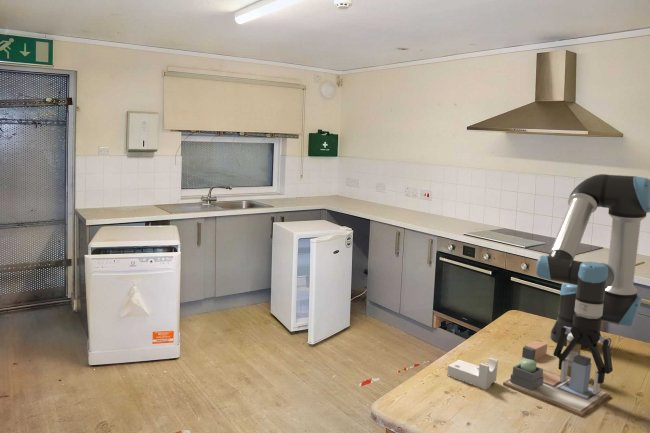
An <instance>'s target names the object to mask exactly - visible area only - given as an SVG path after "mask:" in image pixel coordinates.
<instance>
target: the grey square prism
mask: <svg viewBox="0 0 650 433" xmlns="http://www.w3.org/2000/svg"><path fill="white" fill-rule="evenodd" d="M591 371H592V358H591V357H589V356H586V355H582V354H581V353H580V354H579V355H577V356H575V357H574V360H573V362H572V369H571V376H569V377H570V378H569V379H570V385H569V389H572V390H574V391H577V392H580V393H582V394H583V393H584V392H586V391H587V390H588V388H589V386H590V381H591V379H590V378H591Z"/></svg>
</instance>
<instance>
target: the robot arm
mask: <svg viewBox="0 0 650 433" xmlns="http://www.w3.org/2000/svg"><path fill="white" fill-rule="evenodd" d="M567 205H568V207H567V210H566V213H565V214H564V217H563V220H562V222H561V224H560V227H559V228H558V232H557V234H556V237H555V239H554V242H553V243H552V246H551V248H550V251H549V254H547V255H543V254H542V255H540V256H539V257H538V259H537V261H536V266H535V269H536V270H535V272H536V275H537V278H541V279H544V280H546V281H547V280H548V281H550V282H552V281H553V282H559V283H562V284H561V287H560V292H559V301H558V310H557V319H556V320H555V323H554V325H553V326H552V329H551V331H550V339H551V340H552V341H553V342H554V343H556V346H555V349H554V351H553V353H552V355H553V356H554V357H557V358H558V370H560V374H559V375H560V382H563V381H565V380H566V378H568V377H567V376H568V375H567V368H568V360H567V359H565V358H567V356H568V355H569V353H570V352H571V351H572V350H573V348H574V347H575V346H576V345H577V344H580V345H581V349H588V350H589V351H590V353H591V355H592V358H593V361H594V364H595V366H596V369H597V371H595V372H594V380H593V381H594V382H593V386H592V387H593V394H597V393H598V392H599V390H601V389H600V387H601V385H603V384H604V382H605V376H606V374H607V375H609V374H610V373H612V372H613V370H614V369H613V361H612V360H613V359H612V353H611V343H612V339H611V338H609V337H608V338H606V337H604V336H602V335H601V328H602V322H606V323H609V324H614V325H617V326H623V327H631V326H633V325H634V324H635V322H636V319H637V318H638V313H639V310H640V308H641V304H642V298H643V297H642V296H641V295H639V294H638V288H636V286H634V282H635V281H634V280H635V273H636V272H635V271H636V263H637V253H638V246H639V236H640V229H641V226H640V225H641V222H642V220H644V219H645V218H647V213H650V178H648V177H643V176H642V177H641V176H637V175H636V176H635V175H621V174H620V175H619V174H617V175H616V174H605V173H604V174H602V173H601V174H594V175H592V176H589V177H587V178H586V179H584V180H583V181H581V182H580V183H579V184H578V185H576V186H575V187H574V189H573V190H572V191H571V192H570V195H569V197H568V200H567ZM598 208H603V209H604V208H607V209H608V215H609V216H610V218H612V222H611V230H610V241H609V250H608V251H609V253H608V260H607V263H605V262H595V261H579V260H575V259H576V254H577V252H578V249H579V247H580V244H581V242H582V239H583V236H584V234H585V231H586V229H587V226H588V224H589V221H590V218H591V216H592V213H595V212H596V211H597V209H598ZM569 333H572V335H573V337H574V338H573V340H572V341H571V342H570V344H569V345H568V346H567V336H568V334H569ZM599 341H600V345H601V347H602V348H601V349H602V355H603V356H602V355H601V353H600V350H599V345H598V342H599ZM564 346H566V347H567V348H566V347H565V349H564ZM563 349H564V350H563Z"/></svg>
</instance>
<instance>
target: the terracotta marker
mask: <svg viewBox="0 0 650 433" xmlns="http://www.w3.org/2000/svg"><path fill="white" fill-rule="evenodd" d="M547 349H548V343H546V342H544V341H539V340H534V341H532V342H529V343H527V344H525V345H524V346H523V347H522V356H521V357H522V358H523V359H530V360H533V361H535V360H536V359H539V358H542V357H543V356H545V355H547Z"/></svg>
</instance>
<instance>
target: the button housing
mask: <svg viewBox="0 0 650 433" xmlns="http://www.w3.org/2000/svg"><path fill="white" fill-rule="evenodd" d="M520 368H521V362H520V363H519V364H516V365H514V366H513V367H512V374H510V378H509V379H510V382H511V383H513V384H516V385H518V386H521V387H523V388H526V389H528V390H531V391H532V390H534V389H536V388H538V387H539V386H541V385H543V379H544V377H543V370H544V368H541V367H539V366H536V372H534V373H530V372H527V371H524V370H522V369H520Z"/></svg>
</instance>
